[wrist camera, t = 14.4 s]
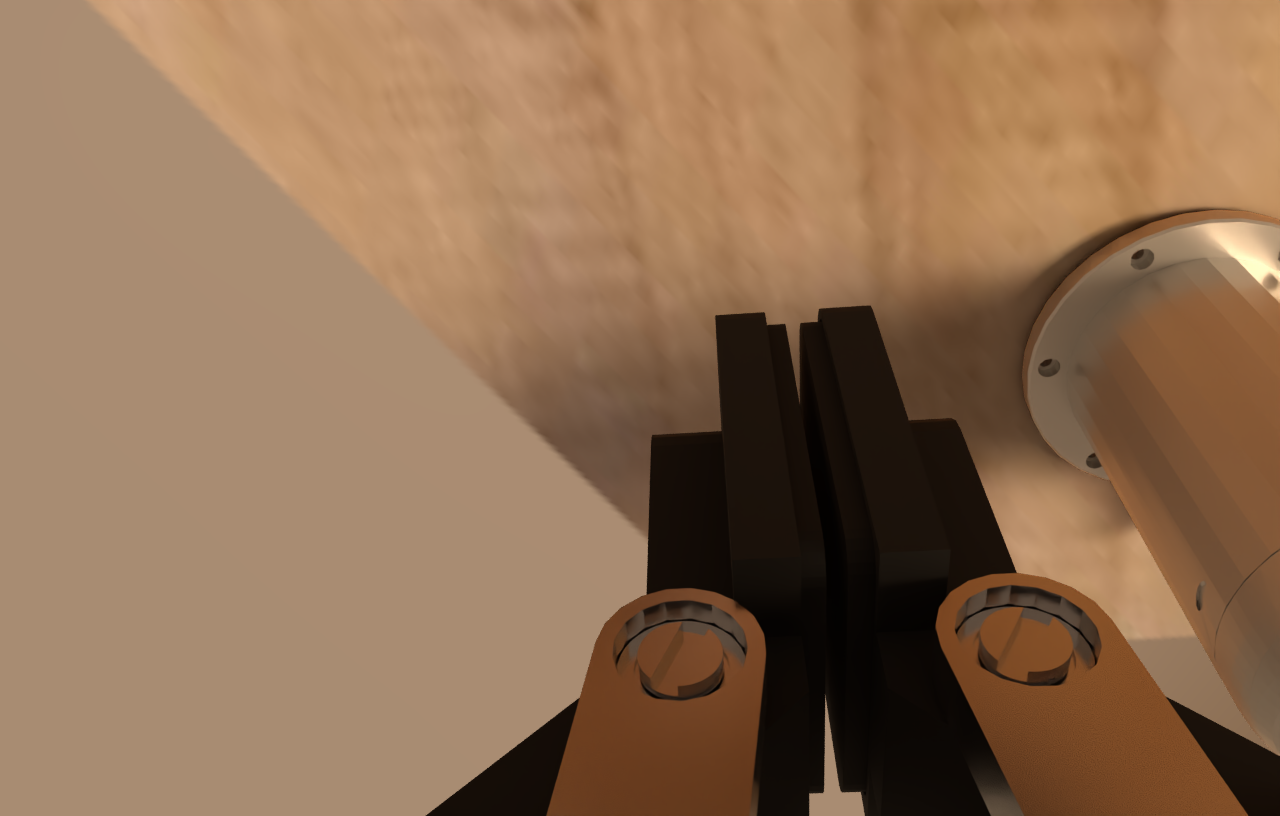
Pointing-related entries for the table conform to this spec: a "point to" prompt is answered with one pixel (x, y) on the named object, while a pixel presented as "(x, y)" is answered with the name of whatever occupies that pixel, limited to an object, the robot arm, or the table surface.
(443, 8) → the table surface
